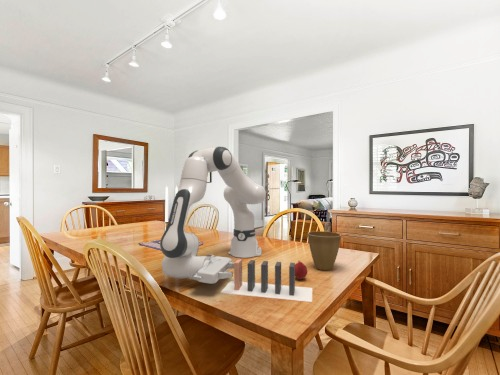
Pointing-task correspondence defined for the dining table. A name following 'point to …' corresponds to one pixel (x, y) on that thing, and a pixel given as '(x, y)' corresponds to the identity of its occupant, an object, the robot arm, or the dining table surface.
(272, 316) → the dining table surface
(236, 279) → the terracotta domino
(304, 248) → the dining table surface
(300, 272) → the onion
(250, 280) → the domino
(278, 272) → the domino
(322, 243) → the plant pot
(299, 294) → the mat
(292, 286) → the domino
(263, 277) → the domino
